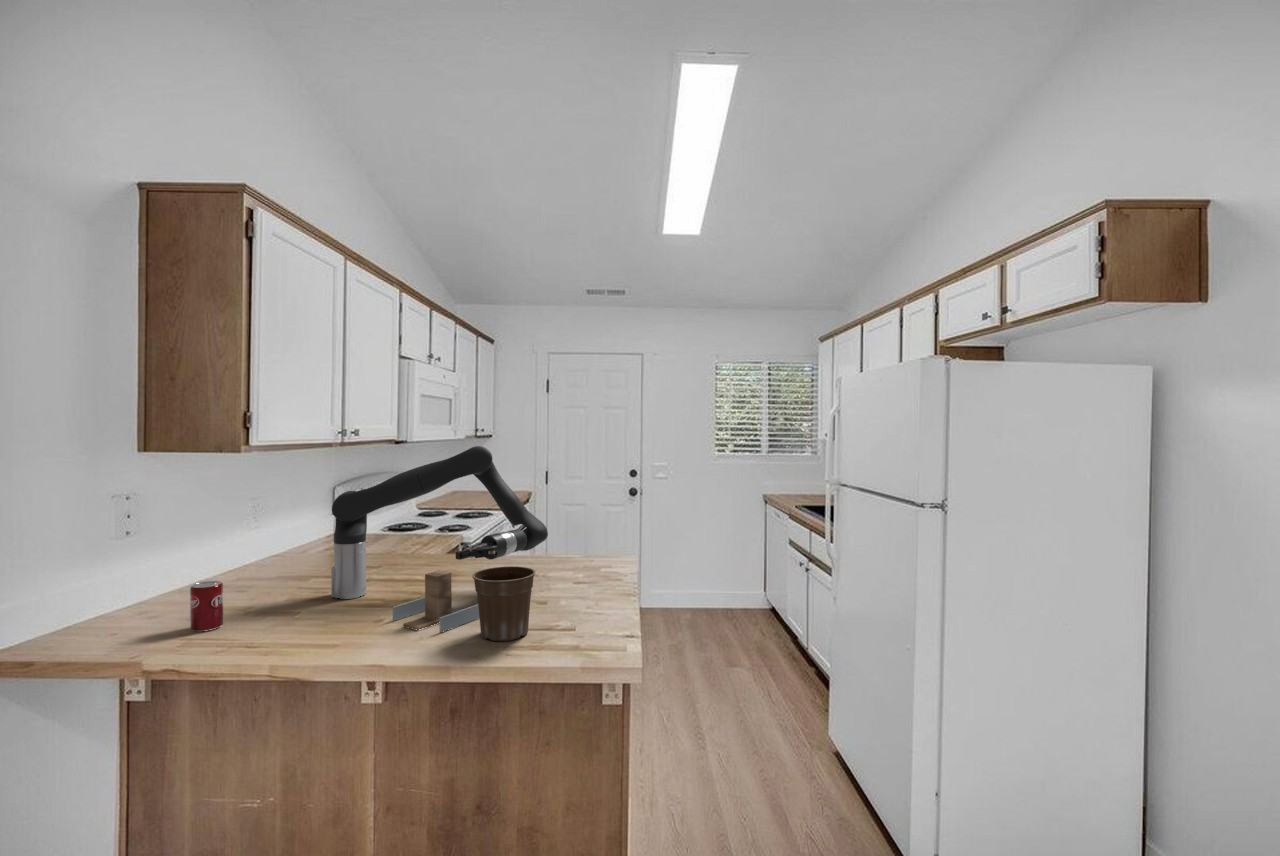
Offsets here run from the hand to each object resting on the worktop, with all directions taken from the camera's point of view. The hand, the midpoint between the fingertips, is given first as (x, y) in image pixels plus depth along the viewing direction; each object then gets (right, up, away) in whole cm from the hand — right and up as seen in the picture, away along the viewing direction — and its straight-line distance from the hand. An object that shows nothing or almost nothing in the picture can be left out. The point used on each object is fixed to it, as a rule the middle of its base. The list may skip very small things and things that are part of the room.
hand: (457, 556), depth 179 cm
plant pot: (+17, -17, -18) cm, 30 cm away
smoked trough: (-4, -17, -6) cm, 18 cm away
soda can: (-64, -17, -14) cm, 67 cm away
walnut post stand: (-5, -17, -9) cm, 20 cm away
